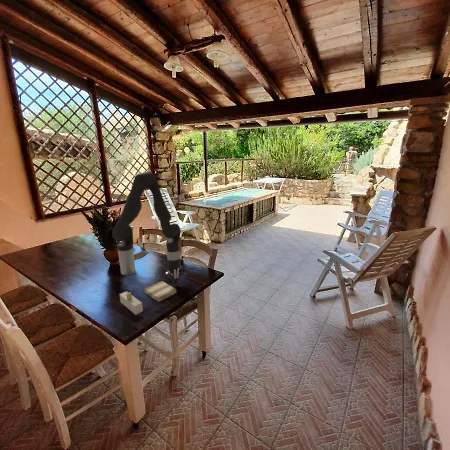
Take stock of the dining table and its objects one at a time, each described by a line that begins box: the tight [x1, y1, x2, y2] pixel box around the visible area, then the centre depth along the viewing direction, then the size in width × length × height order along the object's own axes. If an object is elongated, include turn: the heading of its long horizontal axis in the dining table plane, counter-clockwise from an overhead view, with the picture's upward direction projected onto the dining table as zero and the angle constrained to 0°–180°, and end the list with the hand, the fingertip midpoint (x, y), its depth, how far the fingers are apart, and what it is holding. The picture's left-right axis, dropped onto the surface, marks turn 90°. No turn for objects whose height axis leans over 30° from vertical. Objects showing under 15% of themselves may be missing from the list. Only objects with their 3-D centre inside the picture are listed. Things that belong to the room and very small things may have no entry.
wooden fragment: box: [134, 251, 149, 260], centre depth 193 cm, size 26×11×1 cm, turn 140°
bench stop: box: [119, 291, 144, 316], centre depth 131 cm, size 16×4×8 cm, turn 48°
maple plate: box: [144, 280, 177, 303], centre depth 145 cm, size 14×12×3 cm
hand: (175, 283), depth 152 cm, fingers closed
